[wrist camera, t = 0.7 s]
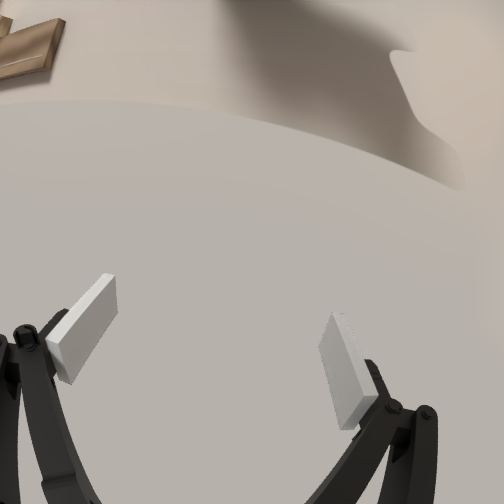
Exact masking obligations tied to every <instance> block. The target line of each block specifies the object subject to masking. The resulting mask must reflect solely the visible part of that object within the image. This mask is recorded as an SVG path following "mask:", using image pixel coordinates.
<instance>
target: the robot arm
mask: <svg viewBox="0 0 504 504" xmlns="http://www.w3.org/2000/svg"><path fill="white" fill-rule="evenodd" d="M117 313H118V311H117V298H116V281H115V275H110V274H106V273H104V274H103V275H102V276H101V277H100V278H99V279H98V280H97V281H96V282H95V283H94V284H93V285H92V287H91V288H90V289H89V290H88V291H87V292H86V293H85V294H84V295H83V296H82V297H81V299H79V301H78V302H77V303H76V304H75V305H74V306H73V307H72V308H71V309H70V310H68V309H63V310H61V311H59V312H57V313H56V314H55V316H54V317H53V318H52V319H51V320H50V321H49V322H48V324H46V325H45V327H44V328H43V329H42V330H41V331H40V332H39V333H37V330H36V328H35V327H34V326H32V325H28V324H26V325H25V324H24V325H21V326H19V327H18V328H16V329H15V331H14V333H13V336H14V339H15V342H16V344H12V343H8V341H7V338H6V337H5V336H4V335H2V334H0V504H21V502H20V491H19V478H18V457H17V456H18V453H17V452H18V448H17V446H18V445H17V444H18V418H19V406H20V396H21V388H22V394H23V401H24V407H25V412H26V417H27V422H28V427H29V431H30V436H31V440H32V444H33V447H34V451H35V454H36V458H37V461H38V465H39V468H40V471H41V474H42V477H43V481H42V482H41V486H42V489H43V492H44V495H45V497H46V500H47V502H48V504H102V503H101V501H100V500H99V498H98V497H97V495H96V493H95V492H94V490H93V488H92V485H91V483H90V482H89V479H88V477H87V475H86V473H85V470H84V468H83V466H82V463H81V461H80V459H79V456H78V454H77V451H76V449H75V446H74V443H73V441H72V438H71V435H70V433H69V430H68V427H67V424H66V420H65V418H64V414H63V411H62V408H61V404H60V400H59V397H58V393H57V389H56V385H55V381H54V379H53V377H54V375H55V374H56V372H57V375H58V378H59V380H61V381H63V382H65V383H68V384H70V385H72V383H73V382H74V380H75V378H76V377H77V375H78V373H79V372H80V370H81V368H82V367H83V365H84V364H85V362H86V360H87V359H88V357H89V356H90V354H91V352H92V351H93V349H94V348H95V346H96V345H97V343H98V342H99V340H100V338H101V337H102V335H103V334H104V332H105V331H106V329H107V328H108V326H109V325H110V323H111V322H112V320H113V319H114V318H115V316H116V315H117ZM319 351H320V354H321V358H322V362H323V365H324V369H325V372H326V376H327V380H328V384H329V388H330V392H331V396H332V399H333V403H334V407H335V412H336V416H337V420H338V424H339V427H340V430H352V429H354V428H355V427H356V426H357V424H358V423H359V424H360V428H361V429H360V430H359V432H358V433H357V434H356V436H354V438H353V439H352V440H353V441H352V442H351V444H350V445H349V447H348V448H347V450H346V451H345V453H344V454H343V456H342V457H341V458H340V460H339V461H338V463H337V464H336V465H335V467H334V468H333V470H332V471H331V472H330V473H329V475H328V476H327V477H326V479H325V480H324V481H323V482H322V484H321V485H320V486H319V487H318V489H317V490H316V491H315V492H314V494H313V495H312V496H311V497H310V498H309V499H308V501H307V502H306V503H305V504H356V502H357V501H358V499H359V498H360V496H361V495H362V493H363V491H364V490H365V488H366V486H367V485H368V483H369V481H370V480H371V478H372V476H373V474H374V473H375V471H376V469H377V467H378V466H379V464H380V462H381V460H382V458H383V456H384V454H385V452H386V450H387V448H388V446H389V445H390V450H389V456H388V461H387V466H386V471H385V476H384V480H383V484H382V488H381V492H380V496H379V500H378V503H377V504H433V502H434V494H435V484H436V473H437V455H438V416H437V413H436V411H435V410H434V409H433V408H432V407H430V406H428V405H421V406H420V407H418V409H417V410H416V411H413V410H408V409H404V408H403V406H402V405H401V403H400V402H398V401H397V400H395V399H392V398H391V397H390V394H389V392H388V390H387V388H386V386H385V383H384V381H383V380H382V376H381V374H380V372H379V370H378V367H377V366H376V365H375V364H374V363H373V361H372V360H366V359H363V356H362V354H361V352H360V349H359V347H358V345H357V343H356V340H355V338H354V336H353V334H352V331H351V329H350V327H349V325H348V323H347V320H346V318H345V316H344V314H343V313H335V312H332V313H331V316H330V319H329V321H328V324H327V327H326V329H325V332H324V334H323V337H322V340H321V342H320V344H319Z"/></svg>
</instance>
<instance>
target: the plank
mask: <svg viewBox="0 0 504 504" xmlns="http://www.w3.org/2000/svg"><path fill="white" fill-rule="evenodd" d="M65 22H66V21H64V20H62V19H60V18H57V19H53V20H50V21H46V22H43V23H40V24H37V25H34V26H31V27H28V28H25V29H22V30H19V31H17V32H14V33H12V34H9V35H7V36H4V37H2V38H0V80H3V79H6V78H10V77H14V76H18V75H23V74H27V73H32V72H37V71H42V70H48V69H51V66H52V62H53V59H54V55H55V52H56V49H57V45H58V42H59V39H60V36H61V33H62V30H63V28H64V25H65Z"/></svg>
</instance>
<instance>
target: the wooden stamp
mask: <svg viewBox="0 0 504 504" xmlns="http://www.w3.org/2000/svg"><path fill="white" fill-rule="evenodd" d="M12 21H13V19H10V18H7V17H4V16H1V15H0V38H2V37H4V36H7V34H8V32H9V29H10V26H11V24H12Z"/></svg>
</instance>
